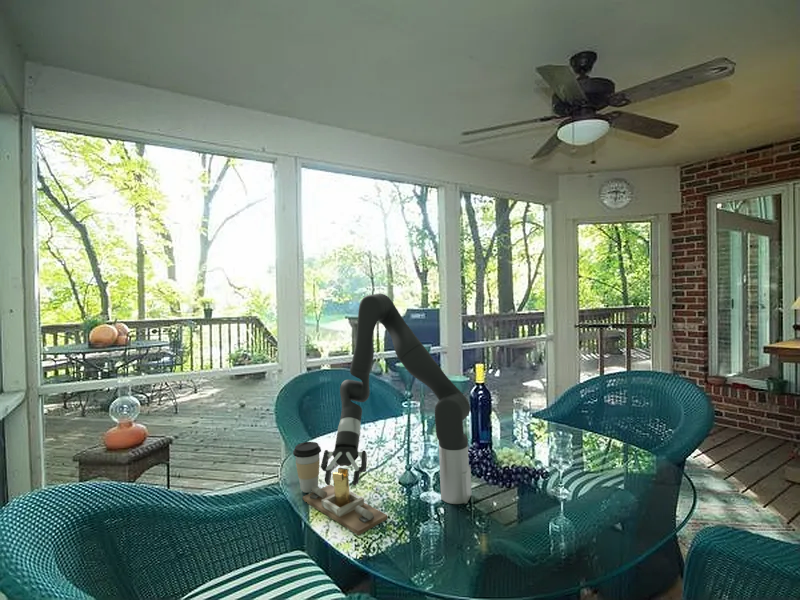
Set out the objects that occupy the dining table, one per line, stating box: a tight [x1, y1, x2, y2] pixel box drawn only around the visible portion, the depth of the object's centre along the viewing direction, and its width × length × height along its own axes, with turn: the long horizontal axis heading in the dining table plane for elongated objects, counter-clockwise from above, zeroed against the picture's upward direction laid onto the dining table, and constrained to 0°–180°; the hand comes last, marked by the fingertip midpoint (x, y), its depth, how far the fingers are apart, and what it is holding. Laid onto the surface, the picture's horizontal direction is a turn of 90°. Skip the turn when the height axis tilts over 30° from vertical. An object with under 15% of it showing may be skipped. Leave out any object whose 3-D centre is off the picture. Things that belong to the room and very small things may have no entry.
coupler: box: [332, 467, 350, 507], centre depth 140 cm, size 5×5×11 cm
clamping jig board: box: [302, 484, 388, 536], centre depth 140 cm, size 29×11×4 cm, turn 44°
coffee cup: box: [292, 441, 322, 494], centre depth 154 cm, size 9×9×15 cm
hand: (341, 484), depth 139 cm, fingers open, 8 cm apart
